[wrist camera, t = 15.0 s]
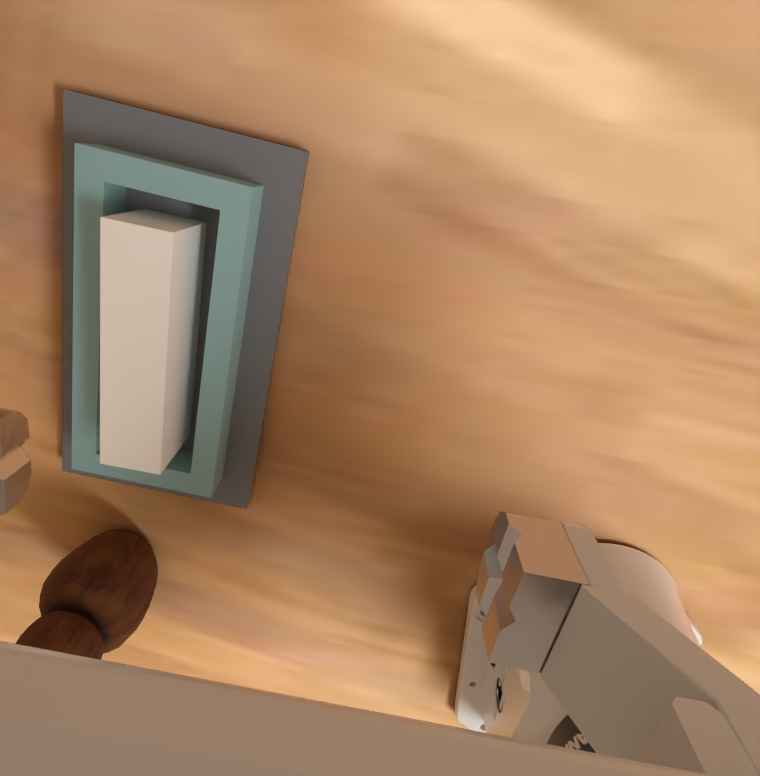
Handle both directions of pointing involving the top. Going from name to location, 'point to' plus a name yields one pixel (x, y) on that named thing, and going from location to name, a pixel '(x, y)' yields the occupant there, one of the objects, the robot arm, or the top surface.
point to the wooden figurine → (95, 596)
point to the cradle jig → (219, 284)
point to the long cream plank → (148, 335)
